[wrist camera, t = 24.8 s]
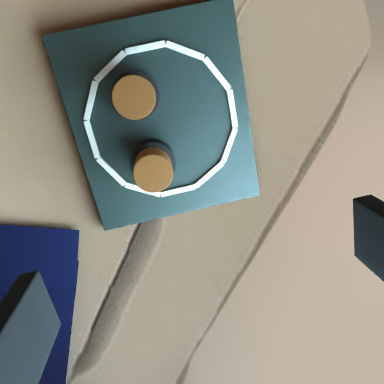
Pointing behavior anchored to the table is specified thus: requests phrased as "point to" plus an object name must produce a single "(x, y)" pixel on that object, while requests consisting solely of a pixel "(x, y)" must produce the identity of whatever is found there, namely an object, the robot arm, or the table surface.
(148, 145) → the stamp
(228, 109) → the slate board
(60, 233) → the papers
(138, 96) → the stamp
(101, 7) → the table surface
